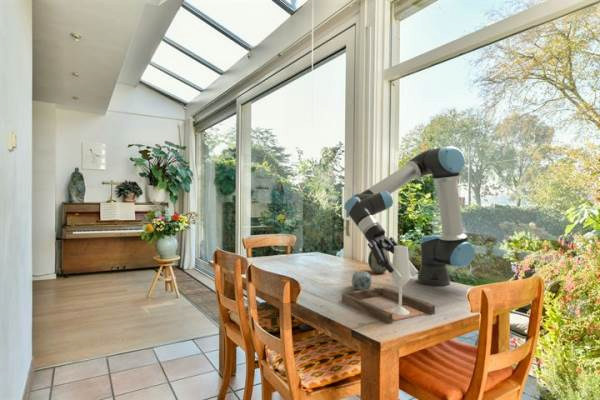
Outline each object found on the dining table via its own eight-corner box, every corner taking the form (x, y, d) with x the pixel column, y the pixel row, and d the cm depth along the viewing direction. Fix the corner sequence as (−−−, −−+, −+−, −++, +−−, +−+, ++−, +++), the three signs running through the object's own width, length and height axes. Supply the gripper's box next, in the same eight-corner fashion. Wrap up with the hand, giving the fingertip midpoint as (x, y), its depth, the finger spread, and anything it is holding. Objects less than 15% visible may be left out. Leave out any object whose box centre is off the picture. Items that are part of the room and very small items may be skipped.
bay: (382, 293, 155) (382, 286, 155) (434, 313, 129) (434, 305, 129) (340, 300, 145) (340, 293, 145) (387, 323, 119) (387, 315, 119)
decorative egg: (363, 272, 197) (363, 245, 197) (380, 269, 202) (380, 243, 201) (376, 276, 186) (376, 248, 186) (394, 274, 191) (394, 246, 191)
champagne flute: (388, 308, 133) (389, 245, 132) (406, 308, 132) (407, 245, 132) (393, 314, 126) (393, 247, 125) (412, 315, 126) (413, 248, 125)
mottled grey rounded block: (375, 287, 153) (365, 265, 156) (356, 296, 154) (345, 275, 157) (376, 286, 166) (367, 267, 169) (358, 295, 167) (349, 275, 170)
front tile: (405, 306, 137) (405, 305, 137) (424, 314, 128) (424, 313, 128) (376, 312, 130) (376, 310, 130) (394, 320, 122) (394, 319, 122)
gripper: (383, 233, 148) (417, 277, 136) (347, 238, 133) (382, 288, 121) (394, 221, 144) (430, 265, 132) (358, 225, 128) (395, 275, 117)
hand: (407, 276), depth 127 cm, fingers open, 10 cm apart
